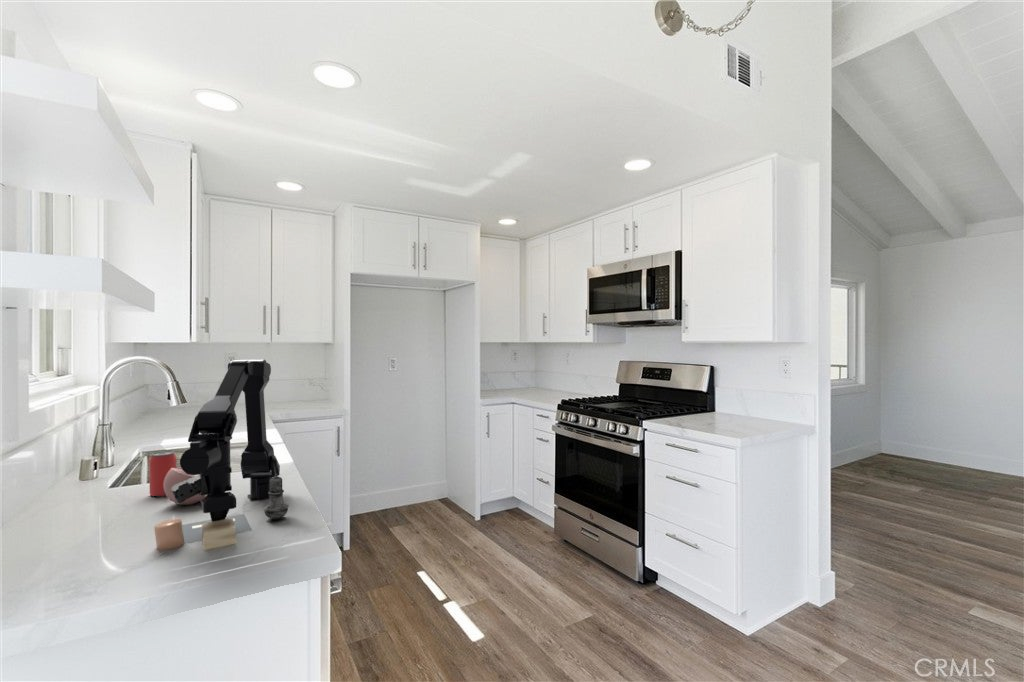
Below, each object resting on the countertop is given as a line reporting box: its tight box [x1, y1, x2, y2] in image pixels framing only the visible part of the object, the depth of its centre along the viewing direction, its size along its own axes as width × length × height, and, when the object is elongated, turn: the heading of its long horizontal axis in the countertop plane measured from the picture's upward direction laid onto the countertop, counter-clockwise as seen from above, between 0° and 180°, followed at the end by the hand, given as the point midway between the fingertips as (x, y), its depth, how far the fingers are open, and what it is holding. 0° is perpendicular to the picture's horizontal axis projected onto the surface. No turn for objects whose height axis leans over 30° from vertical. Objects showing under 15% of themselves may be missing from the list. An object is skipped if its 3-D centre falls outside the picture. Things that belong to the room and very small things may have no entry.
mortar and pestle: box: [164, 467, 205, 506], centre depth 141 cm, size 12×12×12 cm
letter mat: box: [182, 513, 253, 545], centre depth 122 cm, size 14×14×1 cm
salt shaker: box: [263, 474, 290, 524], centre depth 127 cm, size 6×6×12 cm
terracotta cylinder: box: [153, 518, 185, 551], centre depth 111 cm, size 5×5×5 cm
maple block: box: [201, 518, 237, 551], centre depth 113 cm, size 6×6×4 cm
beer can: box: [148, 450, 178, 497], centre depth 150 cm, size 7×7×12 cm
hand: (216, 531), depth 117 cm, fingers closed
